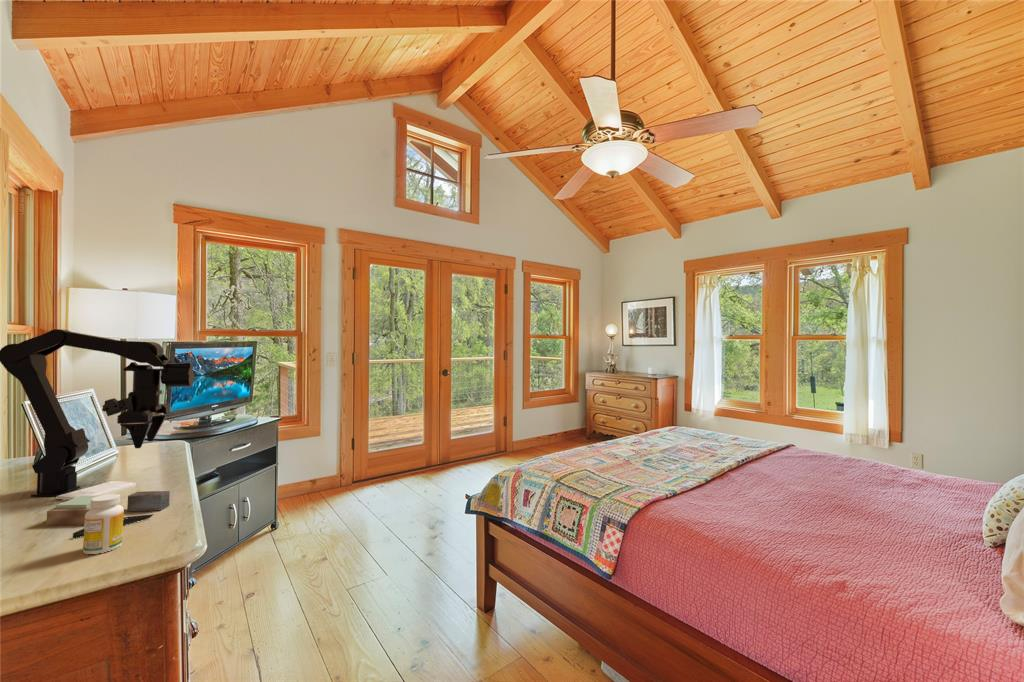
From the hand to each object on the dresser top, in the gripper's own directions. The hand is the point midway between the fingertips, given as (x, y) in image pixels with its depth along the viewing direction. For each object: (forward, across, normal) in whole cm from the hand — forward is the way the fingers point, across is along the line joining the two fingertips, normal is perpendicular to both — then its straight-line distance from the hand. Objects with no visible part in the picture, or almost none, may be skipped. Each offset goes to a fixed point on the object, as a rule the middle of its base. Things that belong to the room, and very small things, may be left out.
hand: (144, 444), depth 119 cm
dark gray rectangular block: (+11, +22, +8) cm, 26 cm away
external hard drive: (+12, +4, -8) cm, 15 cm away
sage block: (+11, +23, -4) cm, 26 cm away
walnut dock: (+11, +24, -3) cm, 27 cm away
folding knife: (+12, +33, +5) cm, 35 cm away
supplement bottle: (+11, +44, +7) cm, 46 cm away
